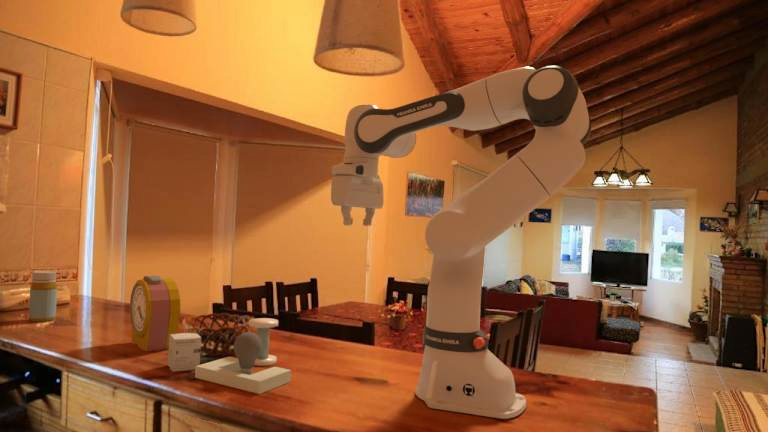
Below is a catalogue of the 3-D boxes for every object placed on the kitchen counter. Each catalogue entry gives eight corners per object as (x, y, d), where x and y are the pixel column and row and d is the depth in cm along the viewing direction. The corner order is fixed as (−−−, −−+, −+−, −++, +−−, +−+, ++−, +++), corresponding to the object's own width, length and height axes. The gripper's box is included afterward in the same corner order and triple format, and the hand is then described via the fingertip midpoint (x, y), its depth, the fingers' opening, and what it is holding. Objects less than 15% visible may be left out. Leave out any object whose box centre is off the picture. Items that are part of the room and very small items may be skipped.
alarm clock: (127, 341, 144) (130, 273, 144) (158, 337, 149) (161, 272, 149) (145, 353, 132) (148, 279, 132) (178, 349, 138) (181, 278, 138)
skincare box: (171, 372, 118) (173, 339, 118) (167, 365, 123) (169, 333, 123) (200, 369, 121) (201, 337, 121) (194, 362, 127) (196, 331, 127)
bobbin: (282, 361, 131) (284, 320, 131) (263, 367, 125) (265, 325, 125) (260, 356, 134) (262, 317, 134) (240, 362, 128) (242, 321, 128)
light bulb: (260, 381, 114) (263, 335, 114) (231, 382, 113) (234, 335, 113) (259, 373, 120) (261, 329, 120) (232, 374, 119) (234, 329, 119)
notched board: (290, 381, 115) (291, 370, 115) (259, 393, 107) (259, 381, 107) (228, 367, 124) (229, 356, 124) (195, 377, 115) (195, 366, 115)
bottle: (60, 320, 165) (62, 272, 165) (35, 323, 159) (38, 273, 159) (48, 317, 169) (50, 270, 169) (24, 320, 163) (26, 271, 163)
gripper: (370, 174, 145) (367, 225, 145) (327, 166, 127) (324, 224, 127) (390, 174, 142) (388, 226, 142) (350, 166, 124) (347, 225, 124)
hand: (357, 225), depth 134 cm, fingers open, 8 cm apart
